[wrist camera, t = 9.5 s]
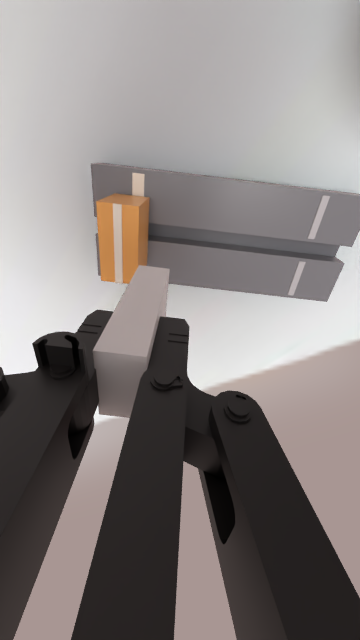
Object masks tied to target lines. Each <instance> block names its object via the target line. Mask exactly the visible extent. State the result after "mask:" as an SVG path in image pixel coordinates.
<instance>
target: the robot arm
mask: <svg viewBox="0 0 360 640" xmlns="http://www.w3.org/2000/svg"><path fill="white" fill-rule="evenodd" d="M169 270H170V269H167V268H159V267H151V266H142V265H139V266H138V268H137V270H136V272H135V274H134V275H133V277H132V279H131V281H130V283H129V285H128V286H127V288H126V290H125V292H124V294H123V296H122V297H121V299H120V301H119V303H118V305H117V307H116V308H115V310H114V312H112V311H103V310H96V311H95V312H93V313H91V314H90V315H88V316H87V317H86V319H85V320H84V322H83V323H82V325H81V326H80V327H79V329H78V331H77V332H76V333H71V332H55V333H50V334H47V335H45V336H43V337H40V338H39V339H37V340H36V341H35V342H34V343H32V344H33V347H34V351H35V355H36V359H37V363H38V368H37V369H36V371H34V372H28V373H20V374H12V375H4V373H3V370H2V368H1V367H0V640H13V639H14V636H15V633H16V631H17V628H18V625H19V623H20V620H21V618H22V615H23V612H24V610H25V607H26V604H27V602H28V599H29V596H30V594H31V591H32V588H33V586H34V583H35V581H36V578H37V576H38V573H39V570H40V568H41V565H42V562H43V560H44V557H45V555H46V552H47V549H48V547H49V544H50V542H51V539H52V536H53V534H54V531H55V528H56V526H57V523H58V521H59V518H60V515H61V513H62V510H63V508H64V505H65V502H66V499H67V497H68V494H69V492H70V489H71V486H72V484H73V481H74V479H75V476H76V474H77V471H78V468H79V466H80V463H81V460H82V458H83V455H84V453H85V450H86V447H87V445H88V442H89V439H90V437H91V434H92V431H93V428H94V418H93V416H94V413H95V411H96V408H97V406H98V407H99V414H102V415H110V416H119V417H127V418H130V420H129V423H128V427H127V431H126V435H125V438H124V442H123V446H122V450H121V453H120V457H119V461H118V465H117V469H116V472H115V476H114V480H113V484H112V488H111V491H110V495H109V499H108V503H107V506H106V510H105V514H104V517H103V521H102V525H101V529H100V532H99V536H98V540H97V544H96V547H95V551H94V555H93V559H92V563H91V567H90V570H89V574H88V578H87V581H86V585H85V589H84V593H83V597H82V601H81V604H80V608H79V612H78V615H77V619H76V623H75V626H74V631H73V634H72V638H71V640H174V625H175V624H174V623H175V605H176V587H177V568H178V551H179V532H180V514H181V513H180V512H181V495H182V476H183V461H185V462H187V463H189V464H191V465H193V466H195V467H197V468H198V470H199V474H200V479H201V483H202V488H203V492H204V496H205V501H206V505H207V510H208V514H209V519H210V523H211V527H212V532H213V536H214V540H215V545H216V549H217V554H218V558H219V563H220V567H221V571H222V576H223V580H224V585H225V589H226V593H227V598H228V602H229V607H230V611H231V615H232V620H233V624H234V629H235V633H236V638H237V640H360V598H359V596H358V594H357V592H356V590H355V589H354V586H353V584H352V583H351V581H350V579H349V577H348V575H347V573H346V571H345V569H344V567H343V565H342V563H341V562H340V559H339V558H338V556H337V554H336V552H335V550H334V548H333V546H332V544H331V542H330V540H329V538H328V536H327V534H326V532H325V531H324V529H323V527H322V525H321V523H320V521H319V519H318V517H317V515H316V513H315V511H314V510H313V508H312V506H311V504H310V502H309V500H308V498H307V496H306V494H305V492H304V490H303V488H302V486H301V484H300V482H299V480H298V479H297V477H296V475H295V473H294V471H293V469H292V468H291V465H290V463H289V461H288V459H287V457H286V456H285V453H284V452H283V450H282V448H281V446H280V444H279V442H278V440H277V438H276V436H275V434H274V432H273V430H272V428H271V427H270V425H269V423H268V421H267V419H266V417H265V415H264V413H263V411H262V409H261V408H260V406H259V405H258V404H257V402H256V401H255V400H253V399H252V398H251V397H249V396H248V395H246V394H243V393H241V392H238V391H225V392H221V393H220V394H219V395H217V396H216V397H214V396H212V395H209V394H206V393H204V392H203V391H201V390H199V389H197V388H196V387H195V386H194V385H193V384H192V383H191V382H190V381H189V378H188V376H187V359H188V341H189V326H188V324H187V323H186V321H185V319H178V318H169V317H165V316H166V305H167V293H168V282H169Z"/></svg>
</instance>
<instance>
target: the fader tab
mask: <svg viewBox="0 0 360 640" xmlns="http://www.w3.org/2000/svg"><path fill="white" fill-rule="evenodd" d="M149 198H150V197H141V196H133V195H125V194H116V193H115V194H112V195H110V196H108V197H105V198H103V199H101V200H98V201H96V207H97V222H98V238H99V254H100V270H101V281H109V282H115V283H120V284H123V283H127V284H129V283H130V281H131V279H132V277H133V275H134V274H135V272H136V270H137V268H138V266H139V265H142V266H146V265H147V253H148V226H149Z"/></svg>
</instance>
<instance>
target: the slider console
mask: <svg viewBox="0 0 360 640" xmlns="http://www.w3.org/2000/svg"><path fill="white" fill-rule="evenodd" d="M91 172H92V186H93V201H94V216H95V217H97V207H96V201H98V200H101V199H103V198H105V197H108V196H110V195H112V194H115V193H116V194H125V195H133V196H141V197H150V198H149V226H148V253H147V265H146V266H151V267H159V268H167V269H170V270H169V282H168V283H169V284H177V285H186V286H195V287H203V288H212V289H221V290H229V291H238V292H247V293H255V294H264V295H273V296H281V297H290V298H299V299H307V300H316V301H325V302H327V300H328V298H329V296H330V294H331V292H332V289H333V287H334V285H335V283H336V281H337V278H338V276H339V274H340V272H341V270H342V267H343V265H344V263H343V262H342V261H340V260H339V259H337V258H336V257H335V255H336V253H337V251H338V248H339V246H349V247H352V245H353V243H354V241H355V239H356V237H357V235H358V232H359V230H360V194H355V193H347V192H339V191H330V190H322V189H314V188H305V187H297V186H289V185H280V184H272V183H264V182H255V181H247V180H239V179H230V178H222V177H214V176H206V175H197V174H189V173H181V172H172V171H164V170H156V169H147V168H139V167H131V166H122V165H114V164H106V163H91ZM96 245H97V260H98V275H99V276H101V270H100V254H99V238H98V233H97V234H96Z"/></svg>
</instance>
